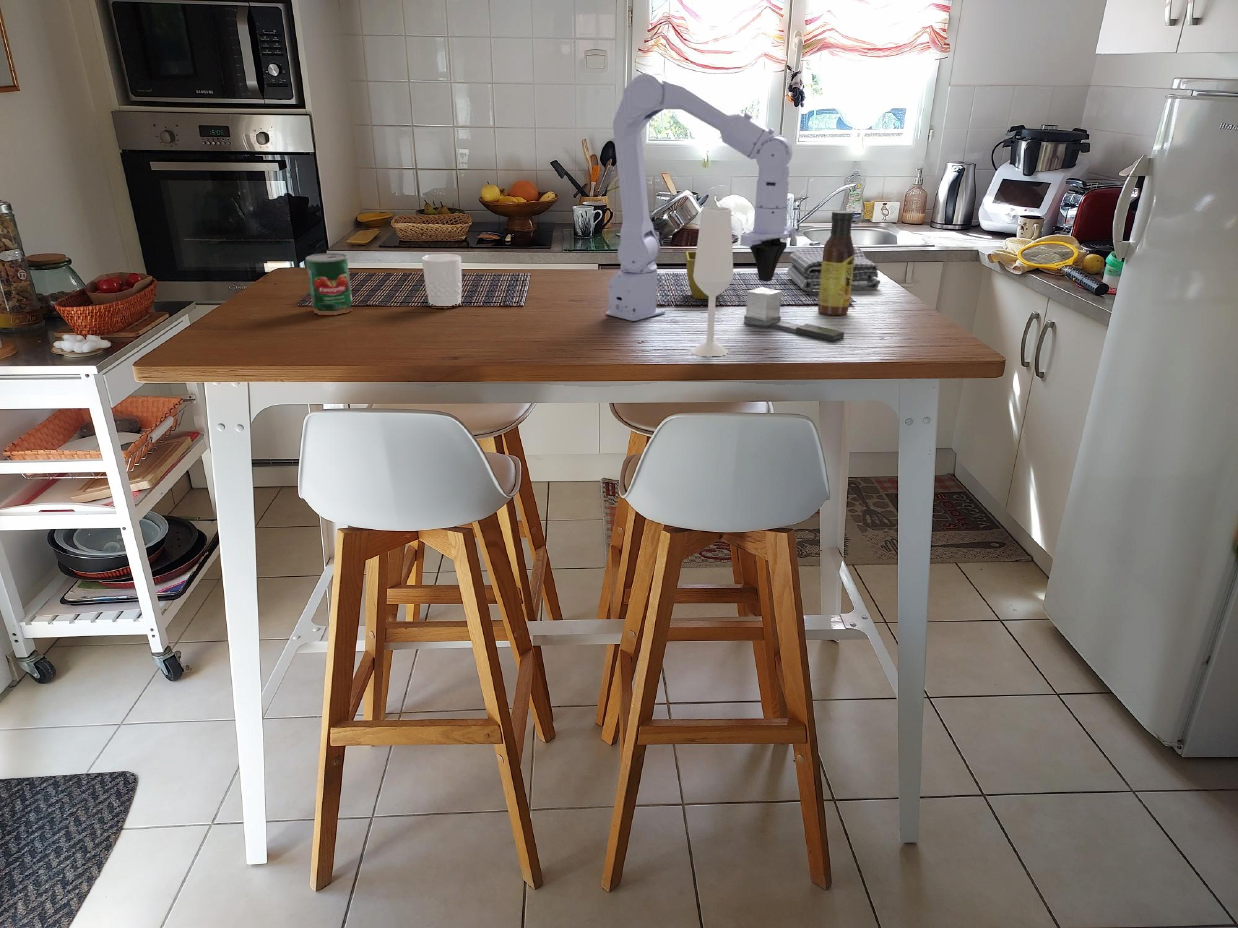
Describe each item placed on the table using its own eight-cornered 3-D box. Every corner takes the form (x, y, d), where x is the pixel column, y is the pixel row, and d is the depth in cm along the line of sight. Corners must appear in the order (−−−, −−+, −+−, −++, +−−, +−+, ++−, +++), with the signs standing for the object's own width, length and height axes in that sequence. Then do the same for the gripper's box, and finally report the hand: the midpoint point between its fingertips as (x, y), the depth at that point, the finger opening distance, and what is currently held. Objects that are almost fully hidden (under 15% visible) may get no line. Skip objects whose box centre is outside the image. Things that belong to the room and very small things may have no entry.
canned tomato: (328, 318, 168) (320, 262, 163) (305, 312, 172) (297, 257, 168) (361, 310, 174) (355, 256, 169) (338, 304, 178) (331, 251, 173)
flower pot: (727, 302, 181) (729, 259, 177) (686, 301, 181) (687, 259, 177) (723, 292, 189) (725, 251, 185) (684, 292, 189) (685, 251, 185)
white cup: (468, 301, 180) (465, 254, 176) (459, 310, 173) (455, 261, 169) (432, 300, 181) (428, 253, 177) (421, 310, 174) (416, 261, 170)
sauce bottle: (849, 317, 169) (860, 214, 161) (817, 315, 170) (827, 213, 162) (847, 309, 175) (859, 210, 166) (816, 308, 176) (826, 209, 168)
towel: (784, 279, 203) (786, 246, 199) (858, 278, 204) (862, 245, 201) (802, 294, 189) (805, 258, 186) (881, 292, 190) (886, 257, 187)
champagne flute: (725, 346, 150) (733, 206, 141) (731, 357, 144) (740, 211, 134) (688, 346, 150) (693, 206, 140) (692, 357, 144) (698, 212, 134)
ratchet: (848, 337, 156) (850, 316, 154) (827, 345, 151) (829, 323, 150) (758, 317, 169) (759, 298, 168) (736, 323, 165) (737, 304, 163)
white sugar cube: (765, 321, 161) (767, 295, 159) (745, 316, 164) (747, 291, 162) (779, 316, 164) (781, 291, 162) (760, 312, 167) (762, 287, 165)
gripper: (764, 212, 148) (759, 289, 154) (811, 205, 158) (804, 278, 163) (733, 208, 153) (728, 283, 159) (780, 201, 162) (774, 272, 168)
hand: (765, 280), depth 161 cm, fingers closed
